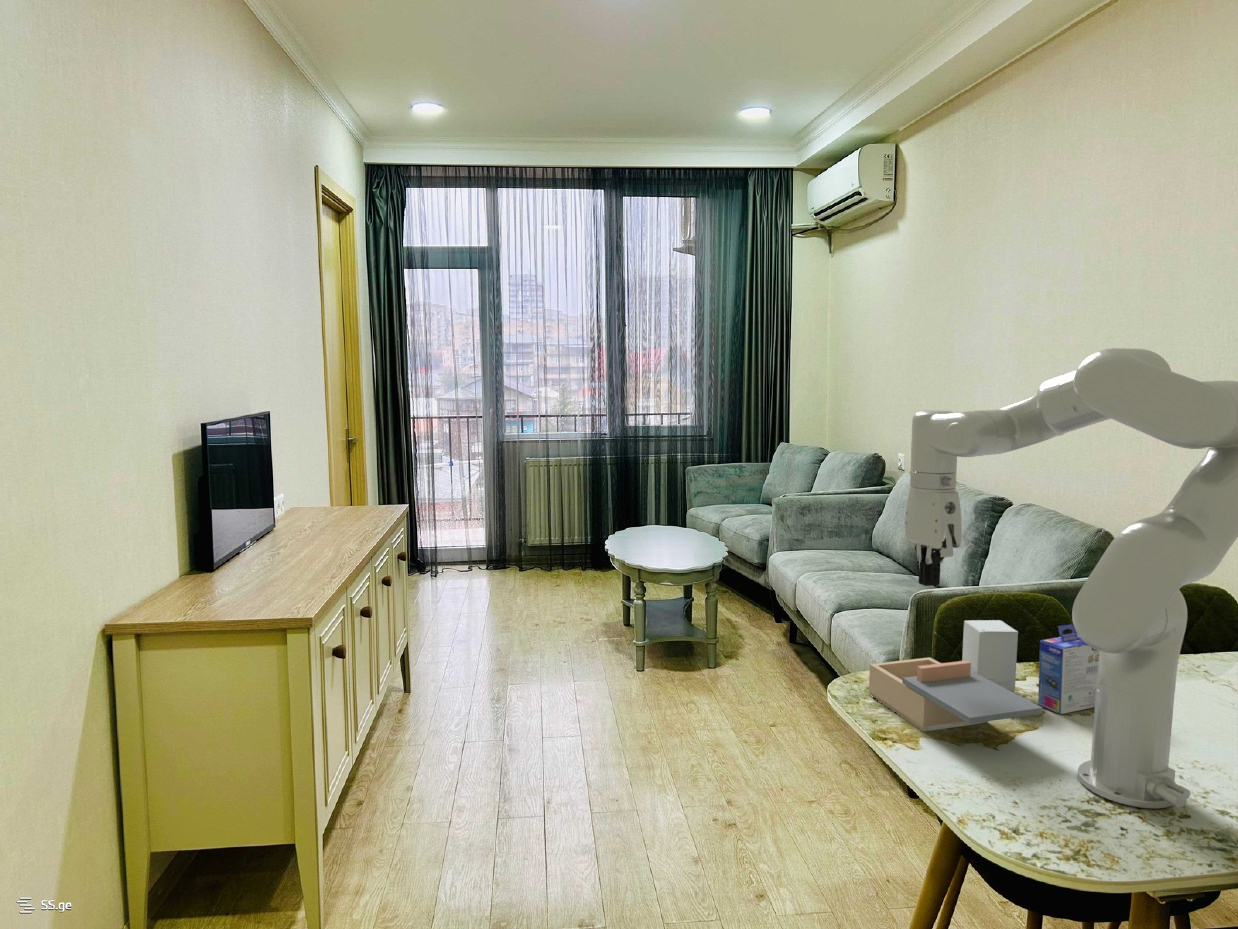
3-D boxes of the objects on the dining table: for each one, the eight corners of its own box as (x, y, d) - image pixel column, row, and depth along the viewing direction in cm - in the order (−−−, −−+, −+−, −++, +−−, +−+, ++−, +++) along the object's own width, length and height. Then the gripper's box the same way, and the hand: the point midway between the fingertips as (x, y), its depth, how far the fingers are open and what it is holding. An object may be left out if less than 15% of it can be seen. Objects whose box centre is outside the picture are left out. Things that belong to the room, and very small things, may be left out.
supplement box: (1015, 698, 153) (1019, 631, 151) (975, 697, 153) (978, 631, 151) (998, 682, 160) (1001, 619, 158) (959, 682, 160) (963, 619, 158)
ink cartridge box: (1074, 695, 154) (1079, 620, 152) (1101, 707, 148) (1106, 629, 147) (1034, 703, 150) (1039, 626, 148) (1060, 715, 145) (1066, 635, 143)
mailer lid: (1041, 713, 131) (1043, 693, 130) (969, 724, 127) (970, 702, 126) (968, 675, 147) (969, 656, 146) (902, 683, 143) (903, 664, 143)
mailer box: (987, 722, 142) (989, 689, 141) (922, 731, 138) (924, 697, 138) (928, 687, 157) (929, 657, 157) (868, 695, 154) (869, 664, 153)
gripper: (980, 486, 138) (976, 593, 140) (924, 475, 152) (920, 573, 154) (942, 488, 136) (938, 597, 138) (888, 477, 150) (885, 576, 152)
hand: (929, 584), depth 146 cm, fingers closed
